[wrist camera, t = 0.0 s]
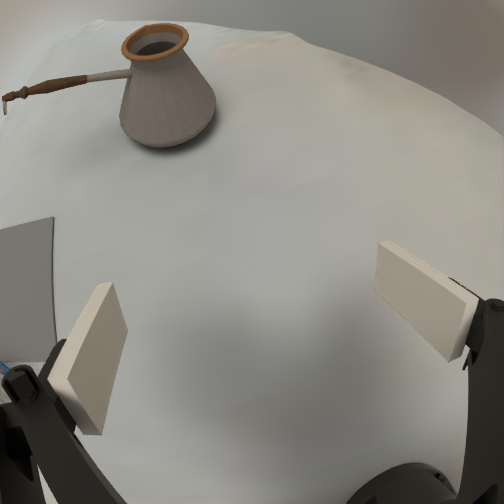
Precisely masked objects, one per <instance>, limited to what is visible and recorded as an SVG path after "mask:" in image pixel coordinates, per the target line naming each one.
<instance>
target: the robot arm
mask: <svg viewBox="0 0 504 504" xmlns="http://www.w3.org/2000/svg"><path fill="white" fill-rule="evenodd" d="M374 291H375V292H376V293H377V294H379V295H380V296H381V297H382V298H383V299H384V300H385V301H386V302H387V303H388V304H389V305H390V306H391V307H393V308H394V309H395V310H396V311H397V312H398V313H399V314H400V315H401V316H402V317H403V318H404V319H405V320H406V321H407V322H408V323H409V324H410V325H411V326H412V327H414V328H415V329H416V330H417V331H418V332H419V333H420V334H421V335H422V336H423V337H424V338H425V339H426V340H427V341H428V342H429V343H430V344H431V345H432V346H433V347H434V348H435V349H436V350H437V351H438V352H439V353H440V354H441V355H442V356H443V357H444V358H445V359H446V360H447V361H448V362H450V361H452V360H454V359H456V358H458V357H460V356H461V355H462V352H463V349H464V346H465V344H466V345H467V346H468V347H469V348H470V350H469V353H468V355H467V358H466V361H465V363H464V366H463V369H462V370H465V368H466V366H468V423H467V437H466V448H465V457H464V465H463V472H462V478H461V484H460V489H459V493H458V494H457V492H456V491H455V489H454V488H453V486H452V485H451V484H450V482H449V481H448V479H447V478H446V476H445V475H444V474H443V473H441V472H440V471H439V470H437V469H435V468H433V467H431V466H429V465H426V464H422V463H410V464H405V465H401V466H398V467H395V468H393V469H390V470H388V471H386V472H384V473H382V474H381V475H379V476H377V477H376V478H374V479H373V480H371V481H370V482H368V483H367V484H366V485H365V486H363V487H362V488H361V489H360V490H359V491H358V492H357V493H356V494H355V495H354V496H353V497H352V498H351V499H350V500H349V501H348V503H347V504H504V301H502V300H499V299H488V300H486V301H484V300H483V299H482V298H480V297H479V296H477V295H476V294H474V293H473V292H471V291H470V290H468V289H466V288H465V287H464V286H463V285H460V283H458V282H457V281H455V280H453V279H451V278H449V277H446V276H445V275H443V274H442V273H440V272H439V271H437V270H436V269H434V268H433V267H431V266H429V265H428V264H426V263H425V262H423V261H421V260H420V259H418V258H417V257H415V256H413V255H412V254H410V253H409V252H407V251H405V250H404V249H402V248H400V247H399V246H397V245H395V244H394V243H392V242H390V241H388V242H382V243H378V251H377V265H376V277H375V288H374ZM127 333H128V329H127V326H126V323H125V320H124V317H123V314H122V311H121V308H120V305H119V301H118V298H117V295H116V291H115V288H114V284H113V282H109V283H102V284H98V286H97V287H96V289H95V291H94V292H93V294H92V296H91V297H90V299H89V301H88V302H87V304H86V306H85V308H84V309H83V311H82V313H81V315H80V316H79V318H78V320H77V322H76V324H75V325H74V327H73V329H72V331H71V333H70V335H69V336H68V338H67V339H61V340H60V341H59V342H58V343H57V344H56V345H55V346H54V347H53V349H52V351H51V353H50V354H49V357H48V358H47V360H46V364H44V366H43V368H42V370H41V371H40V373H39V375H38V377H37V376H36V374H35V372H34V371H33V369H32V368H31V367H30V366H28V365H19V366H16V367H13V368H12V369H10V370H9V371H8V372H7V373H6V374H5V375H4V376H3V379H2V381H1V386H2V387H3V389H4V391H5V392H6V394H7V395H8V397H9V398H10V400H11V401H12V402H9V403H5V404H0V504H46V502H45V498H44V494H43V490H42V486H41V481H40V476H39V472H38V466H39V468H40V470H41V472H42V474H43V476H44V478H45V480H46V482H47V484H48V486H49V488H50V490H51V492H52V493H53V495H54V497H55V499H56V501H57V502H58V504H127V503H126V502H125V501H124V499H123V498H122V497H121V496H120V495H119V494H118V492H117V491H116V490H115V489H114V487H113V486H112V485H111V484H110V482H109V481H108V480H107V479H106V477H105V476H104V475H103V473H102V472H101V471H100V469H99V468H98V467H97V465H96V464H95V463H94V461H93V460H92V458H91V457H90V456H89V454H88V453H87V451H86V450H85V448H84V447H83V445H82V444H81V442H80V441H79V439H78V438H77V436H76V435H75V434H74V431H75V427H76V425H77V426H78V428H79V429H80V430H81V432H82V433H83V435H102V433H103V428H104V423H105V418H106V414H107V409H108V405H109V401H110V396H111V392H112V388H113V384H114V380H115V376H116V372H117V369H118V365H119V361H120V357H121V354H122V350H123V347H124V343H125V340H126V336H127ZM37 464H38V466H37Z"/></svg>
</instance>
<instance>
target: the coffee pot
mask: <svg viewBox="0 0 504 504" xmlns="http://www.w3.org/2000/svg"><path fill="white" fill-rule="evenodd" d="M188 39H189V34H188V32H187V30H186V29H185V28H183V27H182V26H179V25H177V24H170V23H161V24H151V25H145V26H143V27H142V28H140V29H138V30H137V31H135V32H134V33H132V34H131V35H130V36H128V37H127V38H126V40H125V41H124V42H123V44H122V48H121V51H122V54H123V55H124V56H125V57H126V58H127V59H129V60H131V66H130V69H125V70H117V71H111V72H104V73H98V74H92V75H81V76H73V77H66V78H59V79H53V80H47V81H45V82H42V83H40V84H37V85H34V86H32V87H29V88H28V87H26V86H24V87H23V88H22V89H21V90H20V91H16V92H14V91H13V92H10V93H8V94H6V95H4V96H2V101H3V111H4V115H6V113H7V103H6V102H7V101H12V100H14V99H16V98H19V97H21V98H23V99H26V98H27V97H28V95H34V94H43V93H50V92H54V91H57V90H61V89H65V88H69V87H73V86H77V85H81V84H86V83H88V82H95V81H103V80H112V79H122V78H127V82H126V86H125V90H124V95H123V99H122V104H121V109H120V114H119V117H120V123H121V127H122V128H123V130H124V132H125V133H126V134H127V135H128V136H129V137H130V138H132V139H133V140H134V141H136V142H138V143H140V144H143V145H146V146H150V147H159V148H161V147H170V146H175V145H178V144H181V143H184V142H186V141H188V140H190V139H192V138H194V137H195V136H197V135H198V134H199V133H200V132H201V131H202V130H204V128H205V127H206V126H207V124H208V123H209V121H210V120H211V119H212V117H213V114H214V111H215V108H216V97H215V95H214V92H213V90H212V88H211V87H210V85H209V84H208V83H207V81H206V80H205V78H204V77H203V76H202V74H201V73H200V72H199V70H198V69H197V67H196V66H195V65H194V63H193V62H192V61H191V59H190V58H189V57H188V55H187V54H186V53H185V51H184V50H183V47H184V46H185V45H186V43H187V42H188Z"/></svg>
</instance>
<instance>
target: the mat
mask: <svg viewBox="0 0 504 504" xmlns="http://www.w3.org/2000/svg"><path fill="white" fill-rule="evenodd" d="M53 230H54V217H50V218H46V219H41V220H37V221H33V222H29V223H25V224H21V225H17V226H13V227H9V228H5V229H1V230H0V361H46V360H47V358H48V357H49V354H50V353H51V351H52V349H53V347H54V346H55V345H56V344H57V339H56V328H55V316H54V300H53Z"/></svg>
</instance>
